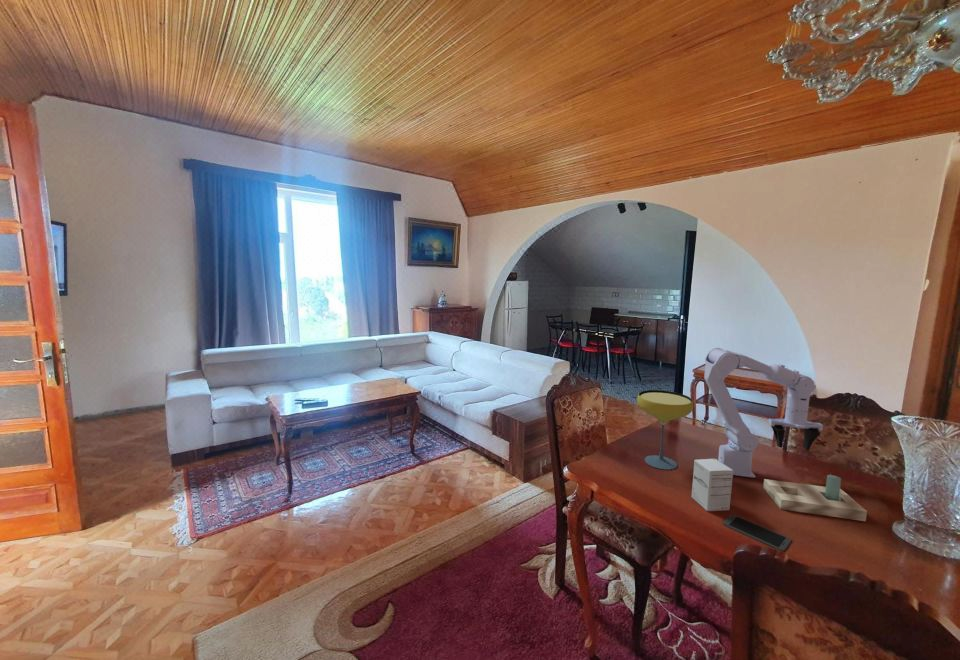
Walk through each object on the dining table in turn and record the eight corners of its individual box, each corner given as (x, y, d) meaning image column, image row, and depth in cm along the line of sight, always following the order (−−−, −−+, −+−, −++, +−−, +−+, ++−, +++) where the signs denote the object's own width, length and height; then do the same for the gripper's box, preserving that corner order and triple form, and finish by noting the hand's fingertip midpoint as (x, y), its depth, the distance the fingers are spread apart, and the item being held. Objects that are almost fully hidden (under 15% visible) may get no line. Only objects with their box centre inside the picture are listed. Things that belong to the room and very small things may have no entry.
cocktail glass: (635, 448, 151) (638, 387, 148) (686, 457, 144) (691, 393, 140) (632, 468, 135) (636, 401, 132) (690, 479, 127) (695, 408, 124)
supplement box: (690, 497, 117) (693, 458, 115) (713, 496, 118) (716, 457, 116) (706, 512, 110) (709, 470, 108) (730, 510, 110) (734, 469, 109)
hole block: (780, 508, 111) (781, 499, 111) (763, 487, 122) (764, 479, 122) (865, 521, 105) (867, 511, 105) (839, 497, 117) (840, 488, 116)
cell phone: (731, 515, 109) (731, 513, 109) (792, 541, 98) (792, 539, 98) (720, 525, 104) (721, 523, 104) (783, 554, 93) (783, 551, 93)
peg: (827, 508, 111) (831, 479, 110) (821, 502, 114) (824, 474, 113) (840, 509, 111) (843, 480, 109) (833, 503, 113) (836, 475, 112)
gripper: (776, 411, 126) (772, 449, 127) (830, 415, 121) (825, 455, 123) (767, 404, 132) (763, 441, 134) (817, 408, 128) (813, 446, 130)
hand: (792, 447), depth 129 cm, fingers open, 7 cm apart
